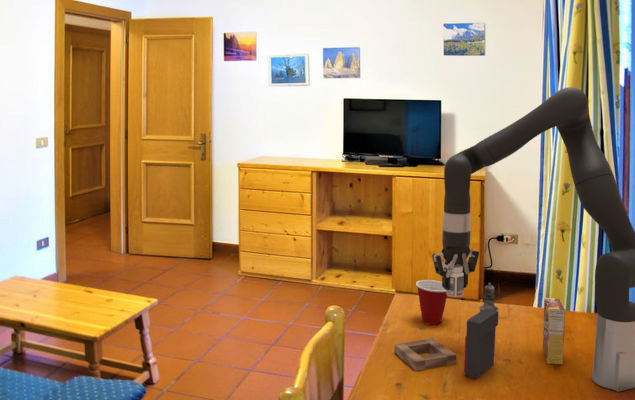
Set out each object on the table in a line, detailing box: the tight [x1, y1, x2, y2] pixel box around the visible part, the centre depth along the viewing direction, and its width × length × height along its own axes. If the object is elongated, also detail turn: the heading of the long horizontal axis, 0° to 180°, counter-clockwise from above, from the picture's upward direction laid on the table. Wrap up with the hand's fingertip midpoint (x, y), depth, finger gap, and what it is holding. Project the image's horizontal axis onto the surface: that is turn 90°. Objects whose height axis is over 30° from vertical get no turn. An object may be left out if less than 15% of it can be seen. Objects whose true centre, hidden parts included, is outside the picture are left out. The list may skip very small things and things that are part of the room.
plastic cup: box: [415, 279, 449, 325], centre depth 197 cm, size 11×11×12 cm
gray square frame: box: [393, 337, 457, 372], centre depth 171 cm, size 12×12×2 cm
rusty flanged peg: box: [478, 282, 499, 312], centre depth 198 cm, size 6×6×12 cm
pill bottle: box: [446, 264, 465, 298], centre depth 176 cm, size 5×5×8 cm
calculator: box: [463, 309, 499, 380], centre depth 162 cm, size 11×4×15 cm, turn 141°
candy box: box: [542, 297, 566, 365], centre depth 169 cm, size 9×4×15 cm, turn 168°
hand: (455, 287), depth 176 cm, fingers closed on pill bottle, 4 cm apart
